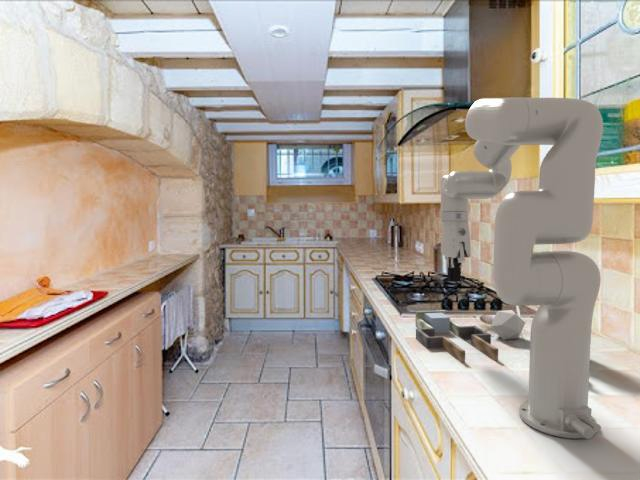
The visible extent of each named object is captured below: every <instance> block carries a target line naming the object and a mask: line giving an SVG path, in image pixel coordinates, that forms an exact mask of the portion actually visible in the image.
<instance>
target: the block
mask: <svg viewBox="0 0 640 480" xmlns="http://www.w3.org/2000/svg"><path fill="white" fill-rule="evenodd" d="M450 320H451V317H450V316H448V315H447V314H446V315H445V314H443V313H425V317H424V321H425V322H426V323H427V324H429V325H430V326H431V327H433V328H434V329H435V334H447V333H450V332H451V331H450Z"/></svg>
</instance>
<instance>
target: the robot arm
mask: <svg viewBox="0 0 640 480" xmlns="http://www.w3.org/2000/svg"><path fill="white" fill-rule="evenodd" d="M603 121H604V120H603V117H602V114H601V111H600V110H599V108H598V107H597V105H594V103H592V102H590V101H587V100H583V99H578V98H570V97H569V98H568V97H515V96H514V97H482V98H479V99H477V100H476V101H474V103H473V104H472V105H471V106H470V108H469V109H468V111H467V113H466V116H465V122H464V123H465V124H464V128H465V131H466V134H467V136H468V137H470V138H471V139H473V140H475V142H474V145H473V154H474V157H475V159H476V160H477V161H478V163H480V165H482V166H483V167H485V168H487V169H489V170H456V171H451V172H450V173H449V174H446V175H443V176H442V177H441V179H440V224H441V225H442V226H441V235H440V237H441V238H440V253H441V255H442V256H444V260H445V261H446V267H447V281H448V282H451V283H454V282H455V283H457V282H461V279H462V276H461V274H462V273H461V271H462V264H463V263H465V261H466V260H465V259H466V258H470V257H471V253H472V252H471V234H470V232H471V231H470V226H469V200H488V199H493V198H494V197H496V196H498V195H499V194H500V193H501V192H502V191H503V190H504V189H505V187H507V185H508V184H509V182H510V180H511V176H512V167H513V166H512V162H511V161H512V160H511V158H512V156H513V155H514V154H516V151H517V150H518V149H519V148H520V147H521V146H552V147H551V148H550V149H549V150H548V151H547V153H546V154H545V156H544V157H543V159H542V161H541V163H540V166H539V175H538V176H539V179H538V180H539V181H538V189H537V190H518V191H513V192H511V193H509V194H507V195H505V197H503V199H502V200H501V201H500V203H499V205H498V208H497V210H496V213H495V219H494V230H493V231H494V233H493V234H494V235H493V236H494V237H493V265H492V267H493V268H492V271H493V273H492V274H493V275H492V276H493V285H494V291H495V293H496V296H498V298H499V299H500V300H501V302H503V303H504V304H507V305H508V306H514V307H516V306H517V307H523V306H524V307H525V306H539V307H538V308H537V310H536V311H535V314H534V316H533V317H532V320H531V324H530V337H529V339H530V340H529V371H528V372H529V373H528V400H526V401H523V402H522V403H521V404H520V405H519V407H518V415H519V417H520V419H521V420H522V421H523V422H524V423H525V424H527V425H528V426H530V427H532V428H533V429H535V430H537V431H539V432H542V433H544V434H547V435H551V436H555V437H559V438H564V439H587V440H588V439H589V440H590V439H592V438H593V437H594V435H595V434H596V433H599V432H600V431H601V429H602V427H601V425H600V424H599V423H598V422H597V420H596V418H594V417H593V415H592V408H591V407H590V406H589V390H590V389H589V387H590V384H589V383H590V365H591V364H590V362H591V361H590V360H591V345H592V344H591V343H592V341H591V340H592V323H593V316H594V312H595V311H594V310H595V306H596V303H597V299H598V295H599V292H600V289H601V281H602V280H601V272H600V269H599V266H598V265H597V263H596V262H595V261H594V260H593V259H592V258H590V257H589V256H588V255H586V254H583V253H581V252H576V251H571V250H570V251H569V250H567V251H566V250H551V251H550V250H549V251H534V247H535V245H561V244H562V245H564V244H575V243H579V242H582V241H583V240H585V239H586V238H588V236H589V235H590V233H591V231H592V228H593V220H594V203H595V187H596V185H595V184H596V165H597V158H598V154H599V150H600V147H601V143H602V138H603V133H604V122H603Z"/></svg>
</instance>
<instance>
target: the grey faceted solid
mask: <svg viewBox="0 0 640 480" xmlns="http://www.w3.org/2000/svg"><path fill="white" fill-rule="evenodd" d="M525 325H526V322H525V320H524V319H522V318H521V317H520V316H519V315H518V314H517V313H516V312H515V311H514V310H512V309H510V310H509V309H508V310H506V309H505V310H497V311H496V313H495V315H494V318H493V319H492V322H491V324H490V326H489V327H490V329H492V330H493V331H494V333H496V334H497V336H499V337H500V338H501V339H502V340H503V341H507V340H513V339H514V340H516V339H519V338H520V336H521V334H522V331H523V329H524V328H525Z"/></svg>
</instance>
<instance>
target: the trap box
mask: <svg viewBox="0 0 640 480" xmlns="http://www.w3.org/2000/svg"><path fill="white" fill-rule="evenodd" d="M425 313H443V314H445V315H447V314H446V313H447V311H446V309H440V310H418V311H416V310H415V327H416V328H415V339H416V340H417V341H418V342H420V344H422V346H424V347H425V348H426V349H440V348H442V349H444V351H446V352H448V353H449V354H450V356H452V357H454V358H455V359H456V360H457V361H458V362H460V363H466V350H465V349H463V348H462V347H460V346H459V345H458V344H456V343H455V342H453V341H452V339H450V338H448V337H447V336H445V335H436V336H435V334H436V333H435V329H434V328H433V327H431V326H430V325H429V324H427V323H426V322H425V321H424V317H425ZM450 332H451V333H453V334H455V336H457V337H459V338H460V339H462V340H464V341H465V342H466V343H468V344H469V345H471V346H472V347H473V348H474V349H476V350H478V351H480V352H481V353H483V354H484V355H485V356H487V357H488V358H490V359H491V360H492V361H499V348H497V347H496V346H494V345H492V344H491V342H492V340H491V339H492V335H491V333H489V332H487V331H486V330H484V329H482V328H480V327H478V325H477V326H476V325H466V326H462V325H460V324H458V323H457V322H456V321H453V320H452V319H450Z"/></svg>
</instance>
